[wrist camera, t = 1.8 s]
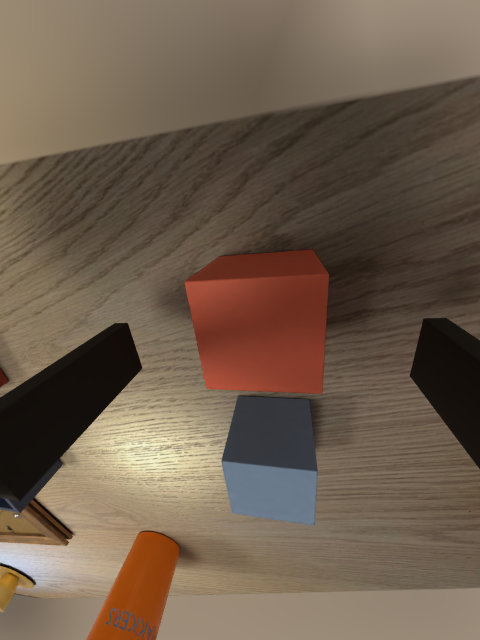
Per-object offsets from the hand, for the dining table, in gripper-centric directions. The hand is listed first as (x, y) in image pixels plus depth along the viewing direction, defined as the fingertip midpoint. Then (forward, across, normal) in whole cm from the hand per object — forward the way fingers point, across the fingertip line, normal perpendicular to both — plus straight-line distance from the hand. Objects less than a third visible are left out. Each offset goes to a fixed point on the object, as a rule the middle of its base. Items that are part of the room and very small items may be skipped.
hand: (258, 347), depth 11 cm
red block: (+6, 0, 0) cm, 6 cm away
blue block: (+6, 0, -12) cm, 13 cm away
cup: (+7, -69, -73) cm, 100 cm away
